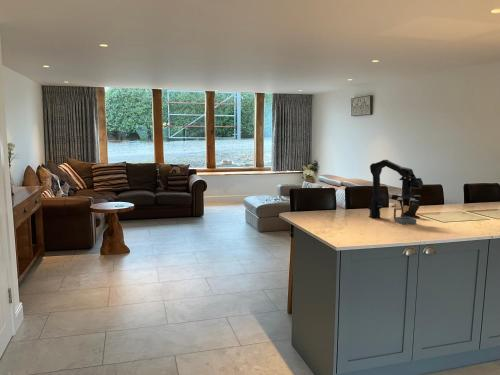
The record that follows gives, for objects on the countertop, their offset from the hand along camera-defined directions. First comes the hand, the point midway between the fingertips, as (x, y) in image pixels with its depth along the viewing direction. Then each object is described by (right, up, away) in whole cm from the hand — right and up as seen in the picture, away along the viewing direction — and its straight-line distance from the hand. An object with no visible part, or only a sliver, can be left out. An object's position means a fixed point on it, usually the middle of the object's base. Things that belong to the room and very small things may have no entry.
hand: (405, 209), depth 283 cm
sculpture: (+12, -7, +22) cm, 26 cm away
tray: (0, -9, +1) cm, 9 cm away
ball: (0, +1, 0) cm, 1 cm away
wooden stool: (0, -7, +14) cm, 16 cm away
